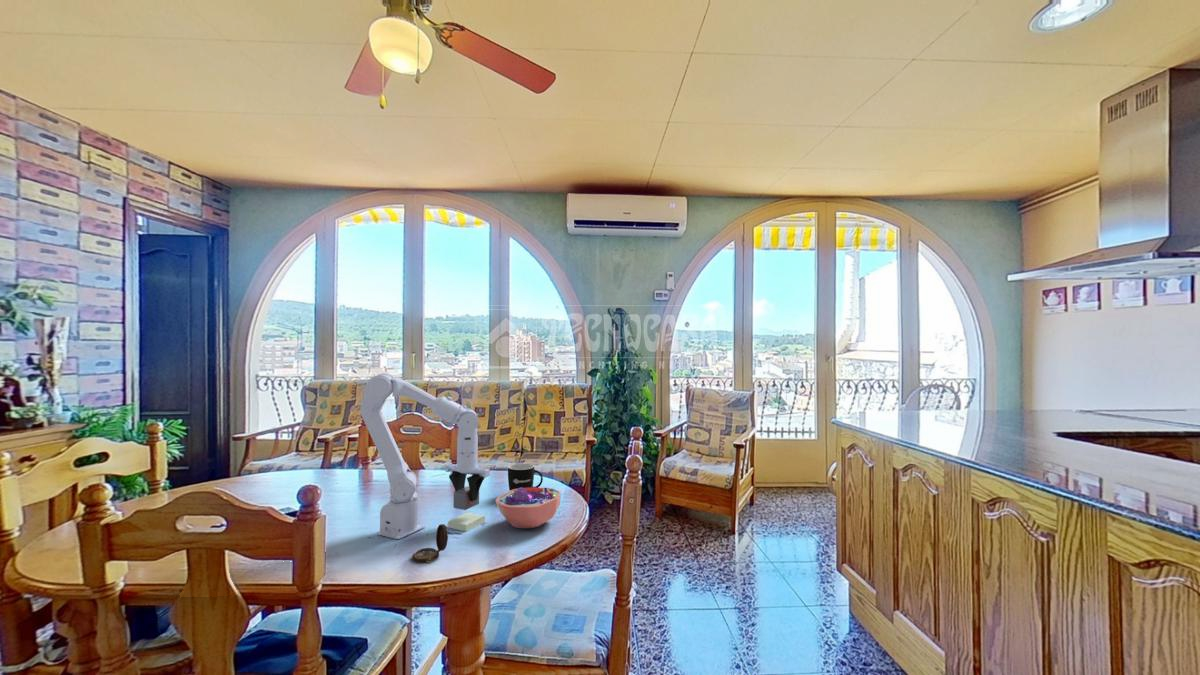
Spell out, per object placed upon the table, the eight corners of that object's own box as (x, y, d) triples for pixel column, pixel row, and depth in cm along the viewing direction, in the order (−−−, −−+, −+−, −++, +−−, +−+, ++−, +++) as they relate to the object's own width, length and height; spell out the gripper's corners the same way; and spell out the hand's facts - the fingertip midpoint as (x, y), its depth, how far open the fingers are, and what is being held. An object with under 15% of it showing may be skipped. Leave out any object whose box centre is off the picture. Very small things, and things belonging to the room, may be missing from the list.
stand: (466, 531, 134) (466, 524, 135) (448, 527, 137) (448, 520, 137) (484, 521, 142) (484, 515, 142) (466, 518, 144) (466, 512, 145)
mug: (508, 501, 161) (508, 470, 161) (506, 493, 170) (506, 463, 170) (544, 498, 164) (544, 468, 164) (540, 490, 173) (541, 462, 173)
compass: (408, 556, 119) (408, 526, 119) (441, 548, 123) (441, 520, 123) (417, 569, 112) (418, 537, 112) (451, 560, 117) (452, 529, 117)
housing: (465, 510, 136) (465, 492, 136) (453, 507, 138) (453, 490, 138) (479, 503, 141) (479, 487, 141) (467, 501, 143) (467, 485, 143)
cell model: (574, 522, 142) (575, 483, 142) (520, 543, 127) (521, 499, 127) (537, 509, 153) (537, 473, 153) (483, 526, 138) (483, 486, 138)
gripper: (496, 451, 140) (496, 498, 140) (457, 446, 146) (456, 492, 146) (480, 456, 134) (480, 505, 134) (440, 451, 140) (439, 498, 140)
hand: (467, 499), depth 140 cm, fingers closed on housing, 4 cm apart
